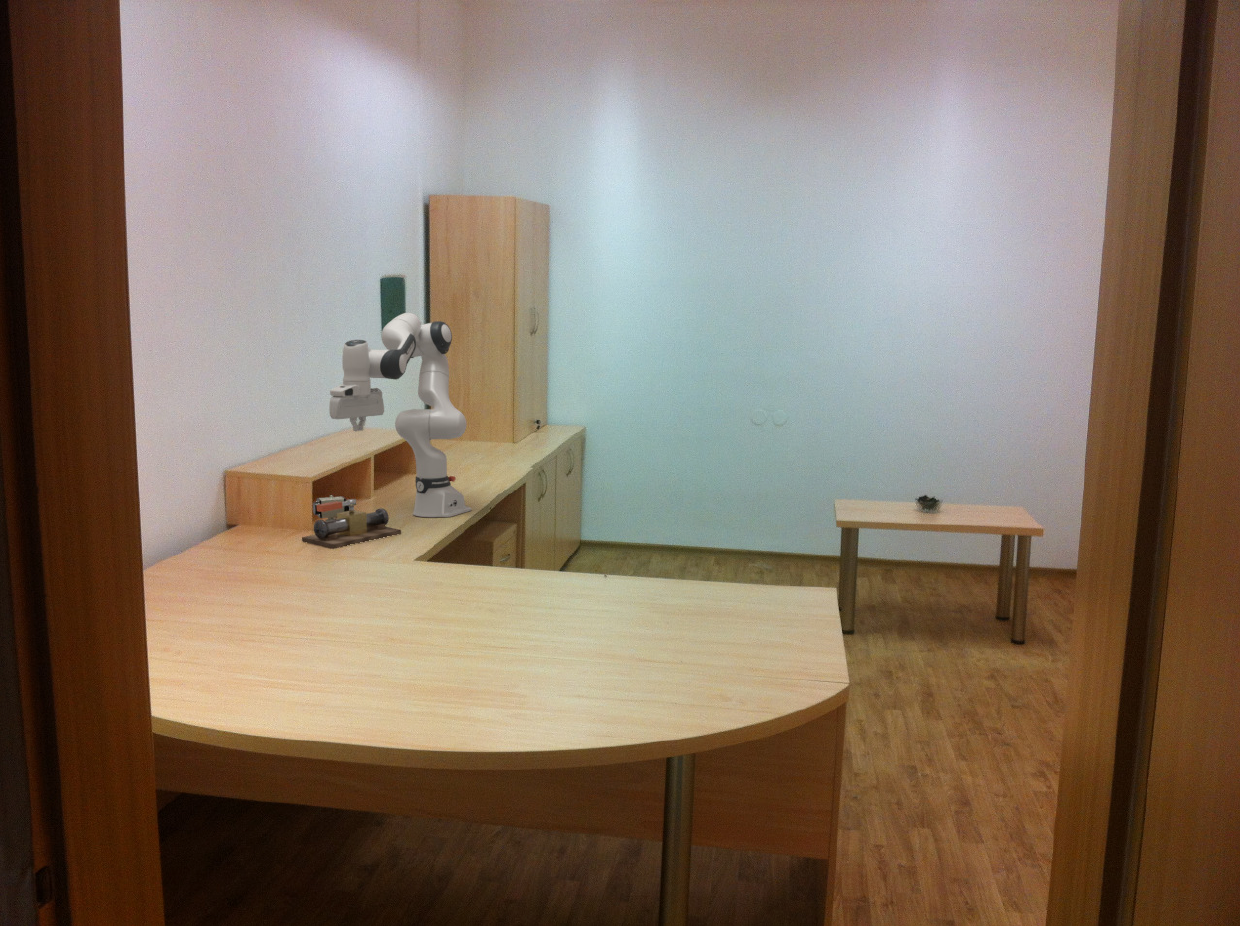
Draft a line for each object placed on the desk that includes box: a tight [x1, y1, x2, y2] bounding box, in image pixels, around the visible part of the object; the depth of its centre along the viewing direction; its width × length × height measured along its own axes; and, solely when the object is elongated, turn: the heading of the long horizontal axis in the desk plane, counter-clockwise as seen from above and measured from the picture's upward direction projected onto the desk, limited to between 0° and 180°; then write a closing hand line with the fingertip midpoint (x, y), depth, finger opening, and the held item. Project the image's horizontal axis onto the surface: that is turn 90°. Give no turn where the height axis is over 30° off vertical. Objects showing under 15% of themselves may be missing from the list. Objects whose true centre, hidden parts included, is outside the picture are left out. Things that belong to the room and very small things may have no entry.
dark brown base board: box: [301, 524, 402, 550], centre depth 343 cm, size 28×16×3 cm, turn 143°
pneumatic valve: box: [312, 494, 349, 521], centre depth 355 cm, size 6×12×12 cm, turn 117°
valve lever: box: [317, 498, 357, 512], centre depth 337 cm, size 14×3×2 cm, turn 145°
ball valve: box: [313, 505, 389, 539], centre depth 343 cm, size 26×6×9 cm, turn 143°
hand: (358, 430), depth 345 cm, fingers closed
